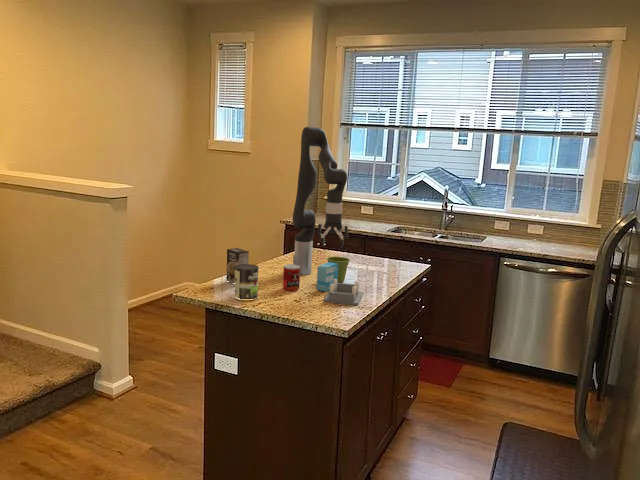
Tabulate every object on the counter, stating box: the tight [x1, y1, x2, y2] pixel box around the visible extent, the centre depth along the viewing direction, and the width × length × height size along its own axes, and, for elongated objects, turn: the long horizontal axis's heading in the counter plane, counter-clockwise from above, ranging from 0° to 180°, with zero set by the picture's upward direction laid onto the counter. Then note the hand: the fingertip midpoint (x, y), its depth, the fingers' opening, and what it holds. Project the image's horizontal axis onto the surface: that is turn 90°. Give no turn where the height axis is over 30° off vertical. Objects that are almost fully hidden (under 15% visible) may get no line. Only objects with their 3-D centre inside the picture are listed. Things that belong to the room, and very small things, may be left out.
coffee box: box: [225, 247, 250, 284], centre depth 264 cm, size 9×6×16 cm
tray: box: [323, 279, 364, 306], centre depth 249 cm, size 15×18×7 cm
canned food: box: [282, 263, 301, 292], centre depth 259 cm, size 8×8×11 cm
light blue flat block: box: [316, 261, 338, 293], centre depth 262 cm, size 12×4×12 cm, turn 149°
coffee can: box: [234, 263, 260, 299], centre depth 241 cm, size 10×10×14 cm
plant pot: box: [326, 256, 351, 283], centre depth 278 cm, size 12×12×11 cm
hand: (332, 246), depth 260 cm, fingers open, 8 cm apart
